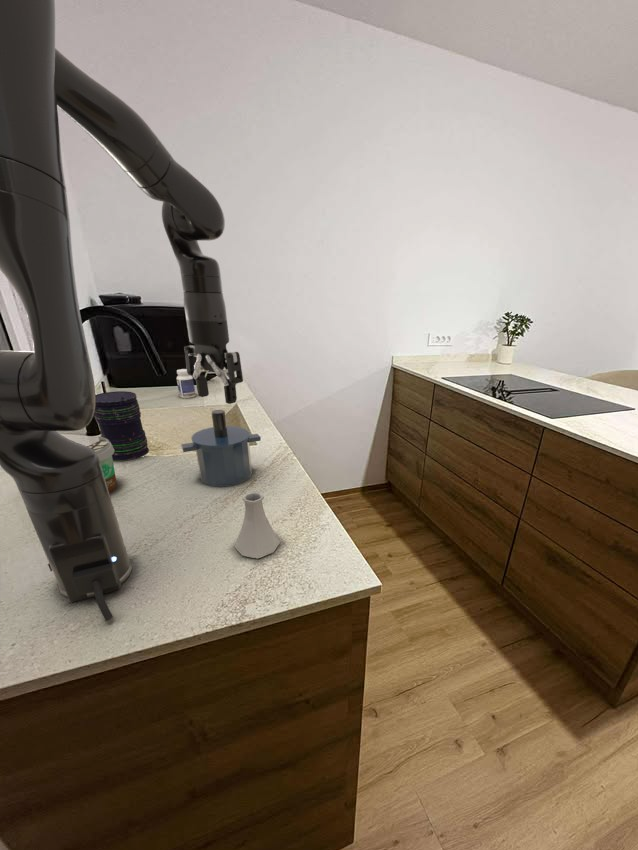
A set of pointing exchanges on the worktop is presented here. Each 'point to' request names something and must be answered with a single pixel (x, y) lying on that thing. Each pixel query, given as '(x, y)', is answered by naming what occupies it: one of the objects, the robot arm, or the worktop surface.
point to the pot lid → (220, 433)
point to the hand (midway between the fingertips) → (217, 399)
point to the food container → (106, 461)
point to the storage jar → (121, 424)
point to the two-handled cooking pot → (224, 462)
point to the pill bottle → (185, 384)
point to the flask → (256, 529)
